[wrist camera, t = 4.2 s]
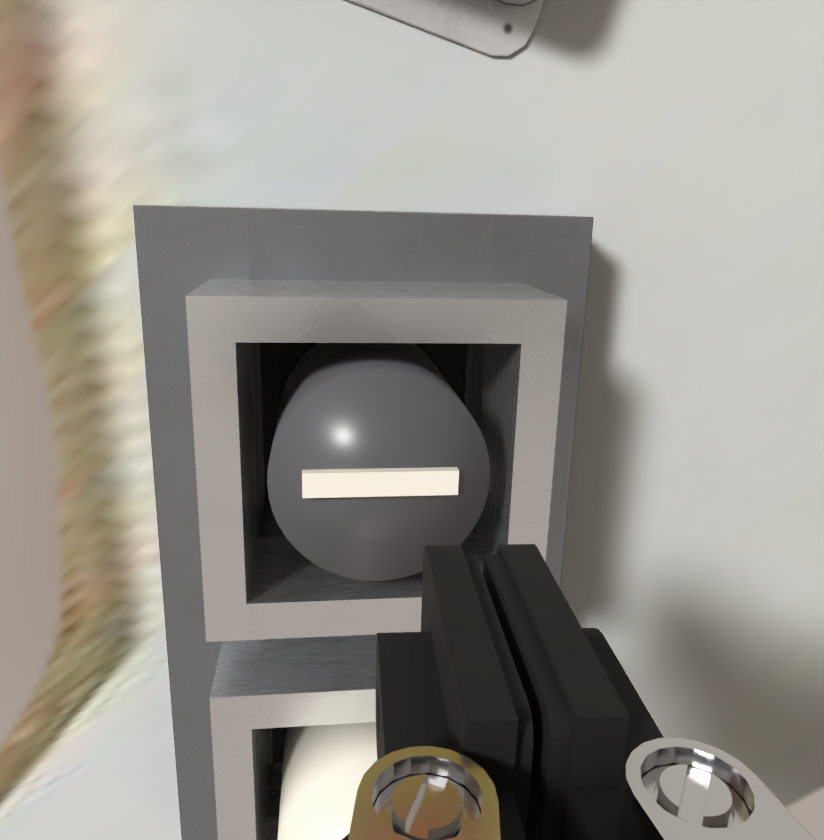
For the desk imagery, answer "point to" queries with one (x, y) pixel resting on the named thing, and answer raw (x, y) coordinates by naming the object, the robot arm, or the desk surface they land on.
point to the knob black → (374, 460)
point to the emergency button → (468, 20)
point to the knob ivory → (323, 778)
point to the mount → (244, 468)
